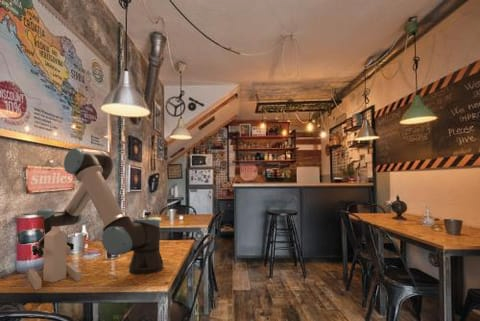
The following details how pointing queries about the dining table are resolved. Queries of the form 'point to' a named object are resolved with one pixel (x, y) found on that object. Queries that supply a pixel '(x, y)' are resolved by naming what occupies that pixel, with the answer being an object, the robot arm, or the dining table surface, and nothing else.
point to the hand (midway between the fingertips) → (57, 252)
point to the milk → (55, 255)
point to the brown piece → (37, 279)
